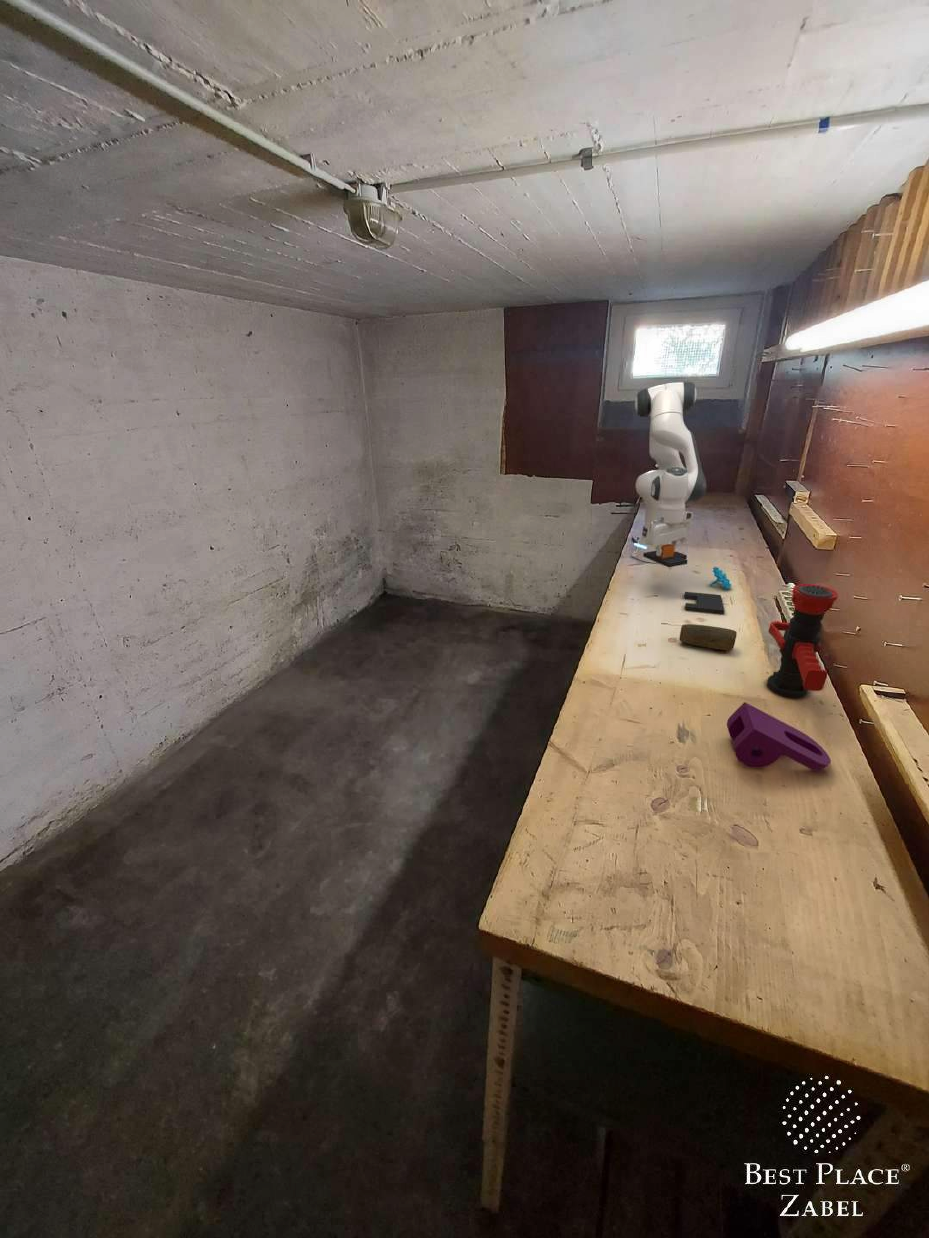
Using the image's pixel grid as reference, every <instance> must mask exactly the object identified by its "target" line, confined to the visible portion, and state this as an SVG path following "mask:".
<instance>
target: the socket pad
mask: <svg viewBox="0 0 929 1238" xmlns="http://www.w3.org/2000/svg"><path fill="white" fill-rule="evenodd" d="M683 595H684V600H693V601H696V603H694V602H693V603H692V602H685V605H684V610H685V611H687V612H688V611H689V612H698V613H704V614H705V613H706V614H715V615H724V614H725V608H724V603H723V597H722V595H721V594H716V593H715V594H714V593H713V594H712V593H703V592H692V591H684V593H683Z"/></svg>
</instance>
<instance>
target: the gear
mask: <svg viewBox="0 0 929 1238" xmlns="http://www.w3.org/2000/svg"><path fill="white" fill-rule="evenodd" d="M712 573H713V575H714V577H715V578H716V579H715V580H714V581H712V582H711V583H709V586H710V587H712V586H714V585H715V584H717V583H721V584H720V585H721V586H722V587H723V588H725V589H726V590H731V589H732V583H731V581H730V579H729V578H727V573H726V572H723V570H722V569H720V568H719V567H718V566H714V567H712Z"/></svg>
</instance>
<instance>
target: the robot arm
mask: <svg viewBox="0 0 929 1238" xmlns="http://www.w3.org/2000/svg"><path fill="white" fill-rule="evenodd" d="M697 394H698V392H697V388H696V385H695V383H694V382H692V381H685V380H684V381H683V382H669V383H665V384H660V385H656V386H652V387H645V388H642V389H641V390H639V391H638V392H637V395H636V397H635V399H634V409H635V411H636V414H637V416H639V417H641V418H648V417H650V422H649V437H648V438H649V441H648V443H649V446H648V448H649V452H648V453H649V456H650V457H651V459H653V460H654V461H655V463H656V464H657V469H654V470H649V471H647V472H644V473H642V474H640V475H639V476H638V477H637V478H636V481H635V490H636V493H637V495H639V497H641V498H642V501H643V503H644V507H645V512H644V513H645V514H644V515H645V516H644V525H643V527H642V529H641V531H642V532H641V535H640V536H637V537H636V539H635V537H634V536H631V540H632V541H633V545H634V546H636V549H635V550H634V551H633V552H632V553H631V558H634V559H638V560H639V561H642V562H645V563H652V564H653V563H654V564H658V563H657V562H655V561H652V560H650V559H648V558H645V557H643V554H644V553H645V552H651V551H656V555H658V556H661V555H663V551H662V550H661V547H662V545H666V544H671V545H673V546H675V548H674V552H676V548H677V545H678V544H679V540H681V539H685V538H686V539H687V538H688V537H689V536H690V532H691V528H692V519H693V517H694V513H693V512H691V511H688V510H686V503H697V502H698V501H700V500H702V499H703V497H705V495H706V494H707V487H708V486H707V480H706V475H705V474H704V471H703V468H702V467H703V466H702V463H701V458H700V454H699V449H698V445H697V441H696V437H695V434H694V432H692V431H691V430H689V429H688V427H687V425H686V424H685V422H684V415H685V413H686V412H688V411H690V410H691V409H692V408H693V407H694V405H695V403H696V401H697V397H698V395H697ZM680 454H681V455H682V457H683V458H684V462H685V466H684V464H683V462H682V459H681V457H680Z"/></svg>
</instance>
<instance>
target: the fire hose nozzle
mask: <svg viewBox="0 0 929 1238" xmlns="http://www.w3.org/2000/svg"><path fill="white" fill-rule="evenodd" d="M791 592H792V596H791V602H792V604H793V606H794V609H793V613H792V614H793V616H792V617H791V618H790V620H789V622H784V621H780V620H775V621H771V622H770V623H769V627H768V631H767V632H768V633H769V635H770V636H771V637H772V638H773V639H774V641H775V643H776V644H777V646H778V648H779V653H780V655H781V657H780V666H779V669H778V670H777V671H773V673H772V674H771V675H769V676H768V678H767V682H766V688H767V689H768V690H769V691H771V692H772V694H773V693H774V694H776V695H778V696H779V697H783V698H787V699H802V698H803V699H804V698H805V697H806V696H807V694H808V691H813V692H820V691H823V690H824V687H825V683H826V681H827V677H828V672H827V670H826V669H822V666H821V665H820V661H819V659H818V657H817V653H820V652H821V650H822V644H821V638H820V636H819V634H820V632H821V631H822V627H823V623H822V622H821V621H823V619H824V617H825V614H826V613H827V612H828V611H830V610H831V609H832V608H833V605H834V603H835V602H836V601H837V600H838V596H839V593H838V592H837V591H836V590H835V589H832V588H830V587H828V586H824V585H820V584H813V583H812V584H811V583H800V584H797V585H796V584H795V585H794V586H793V588H792V591H791ZM781 631H784V633H783V634H782V633H781Z"/></svg>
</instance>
